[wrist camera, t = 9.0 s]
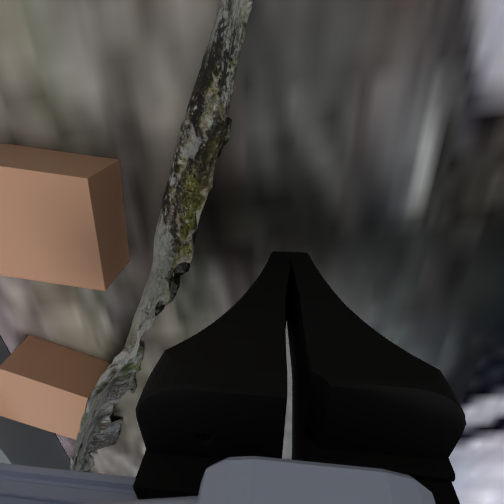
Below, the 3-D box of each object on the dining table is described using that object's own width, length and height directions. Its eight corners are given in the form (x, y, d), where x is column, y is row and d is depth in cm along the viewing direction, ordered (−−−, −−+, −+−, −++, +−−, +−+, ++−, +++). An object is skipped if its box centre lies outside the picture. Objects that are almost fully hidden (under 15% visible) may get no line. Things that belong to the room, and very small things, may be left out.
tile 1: (122, 157, 12) (87, 178, 10) (132, 257, 14) (105, 291, 12) (7, 141, 12) (-52, 158, 10) (35, 242, 15) (-8, 273, 12)
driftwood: (279, -241, 7) (269, -702, 3) (377, -177, 7) (499, -499, 3) (74, 468, 25) (32, 550, 21) (105, 477, 26) (69, 560, 22)
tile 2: (111, 358, 18) (87, 398, 16) (99, 401, 21) (77, 440, 18) (32, 331, 18) (-3, 368, 16) (29, 377, 20) (-2, 415, 18)
